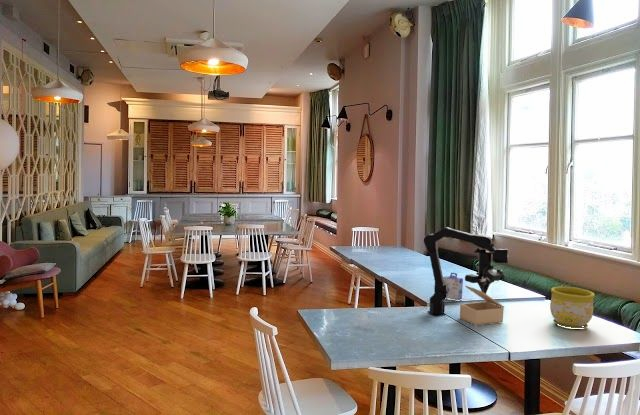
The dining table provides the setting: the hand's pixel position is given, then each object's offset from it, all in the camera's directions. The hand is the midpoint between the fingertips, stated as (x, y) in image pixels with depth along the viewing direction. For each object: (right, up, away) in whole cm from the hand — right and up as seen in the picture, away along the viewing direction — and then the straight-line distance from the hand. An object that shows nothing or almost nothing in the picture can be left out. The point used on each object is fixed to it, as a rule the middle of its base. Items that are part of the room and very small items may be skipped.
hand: (484, 295), depth 234 cm
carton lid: (0, -1, 0) cm, 1 cm away
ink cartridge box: (-6, -9, +37) cm, 38 cm away
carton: (-1, -12, +1) cm, 12 cm away
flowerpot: (+39, -14, -3) cm, 41 cm away
